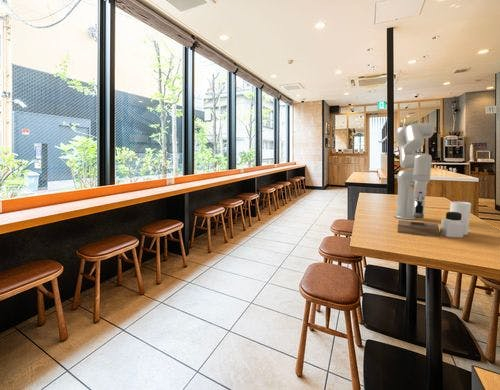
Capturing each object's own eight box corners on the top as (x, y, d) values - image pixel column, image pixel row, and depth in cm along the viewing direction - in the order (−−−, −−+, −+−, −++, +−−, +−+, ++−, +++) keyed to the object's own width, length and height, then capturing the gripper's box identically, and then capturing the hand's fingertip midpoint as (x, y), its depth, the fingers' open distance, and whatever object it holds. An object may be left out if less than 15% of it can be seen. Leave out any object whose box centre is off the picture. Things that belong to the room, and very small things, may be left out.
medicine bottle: (463, 238, 125) (466, 214, 122) (446, 237, 126) (449, 214, 124) (455, 232, 131) (458, 210, 129) (439, 232, 133) (442, 210, 131)
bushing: (413, 215, 138) (414, 199, 137) (423, 216, 136) (424, 200, 135) (413, 217, 135) (414, 200, 133) (423, 218, 132) (425, 201, 131)
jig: (398, 226, 147) (399, 219, 146) (437, 231, 137) (437, 223, 136) (397, 232, 137) (397, 224, 136) (438, 237, 127) (439, 228, 126)
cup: (449, 229, 140) (452, 200, 137) (468, 232, 134) (472, 202, 131) (446, 232, 134) (449, 203, 131) (467, 235, 128) (470, 204, 126)
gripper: (413, 177, 142) (410, 209, 144) (412, 179, 128) (410, 214, 130) (429, 177, 138) (426, 210, 140) (430, 179, 124) (428, 216, 126)
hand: (418, 212), depth 135 cm, fingers closed on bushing, 4 cm apart
